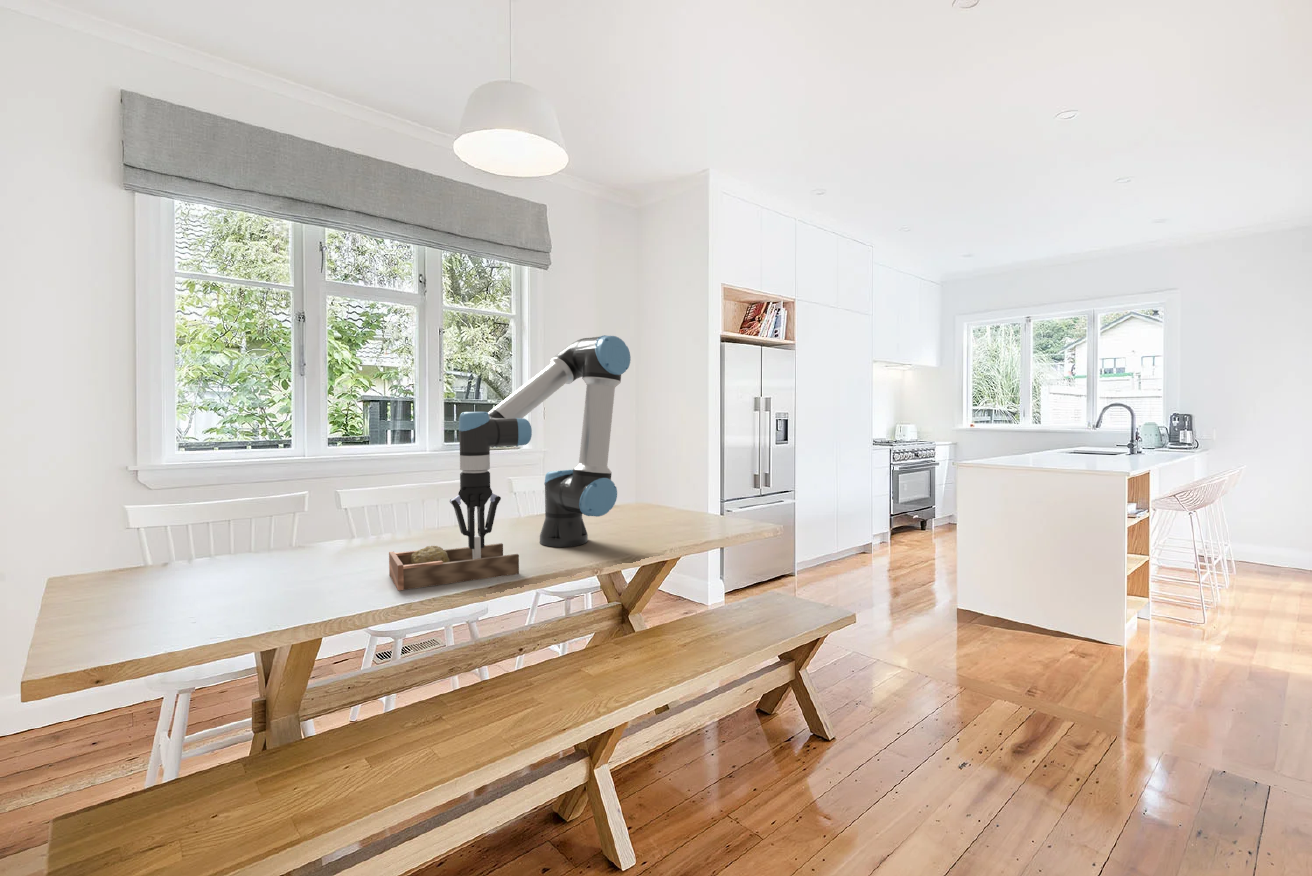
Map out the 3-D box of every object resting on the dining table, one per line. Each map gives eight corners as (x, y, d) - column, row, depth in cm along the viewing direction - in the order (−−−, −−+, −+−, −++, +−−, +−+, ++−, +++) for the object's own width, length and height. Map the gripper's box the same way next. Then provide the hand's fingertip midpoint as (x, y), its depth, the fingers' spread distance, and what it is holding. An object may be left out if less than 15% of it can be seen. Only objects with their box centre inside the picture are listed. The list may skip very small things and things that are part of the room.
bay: (501, 560, 174) (501, 539, 174) (518, 573, 161) (518, 551, 161) (389, 575, 159) (388, 552, 159) (398, 590, 146) (397, 565, 146)
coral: (452, 579, 155) (451, 549, 154) (412, 584, 151) (411, 553, 151) (448, 570, 163) (448, 541, 163) (411, 574, 160) (410, 545, 159)
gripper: (495, 468, 168) (497, 554, 169) (446, 471, 161) (448, 560, 163) (504, 471, 161) (505, 560, 163) (452, 474, 155) (454, 567, 156)
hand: (476, 560), depth 163 cm, fingers closed
